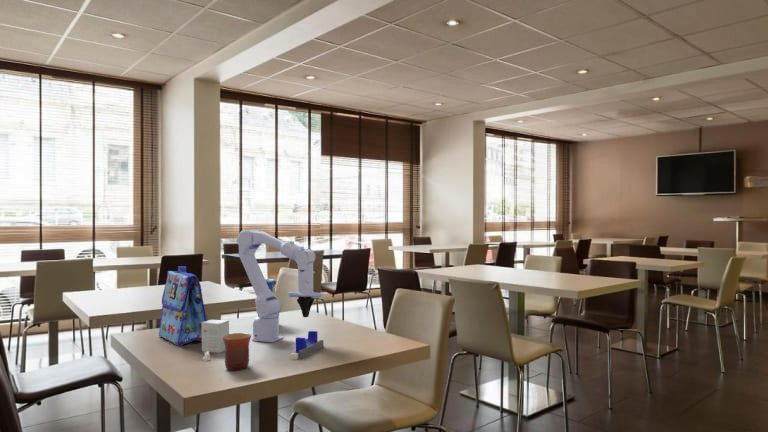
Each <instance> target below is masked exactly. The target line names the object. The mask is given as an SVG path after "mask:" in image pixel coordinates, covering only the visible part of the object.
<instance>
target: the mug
mask: <svg viewBox="0 0 768 432" xmlns="http://www.w3.org/2000/svg"><path fill="white" fill-rule="evenodd" d="M251 339H252V334H250V333H245V332H236V333H235V332H234V333H229V334H228V335H225V336H223V341H224V344H225V351H224V365H225V369H226V370H229V371H231V372H237V371H242V370H243V371H244V370H246V369H247V368H248V367H249V363H250V342H251V341H250V340H251Z"/></svg>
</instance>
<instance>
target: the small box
mask: <svg viewBox="0 0 768 432" xmlns="http://www.w3.org/2000/svg"><path fill="white" fill-rule="evenodd" d="M201 327H202V341H201V352H205V353H206V351H208V352H209V353H218V354H221V353H223V352H225V344H224V341H223V336H225V335H228V334H230V321H229V320H226V319H225V320H224V319H207V321H205V322H202V323H201Z"/></svg>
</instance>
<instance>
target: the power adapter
mask: <svg viewBox="0 0 768 432" xmlns="http://www.w3.org/2000/svg"><path fill="white" fill-rule="evenodd" d="M203 353H204V356H203V357H202V361H203V362H206V361H210V360H211V355H210V354H211V353H210V352H208V351H206V352H205V351H203Z"/></svg>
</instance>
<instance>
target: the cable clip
mask: <svg viewBox="0 0 768 432" xmlns="http://www.w3.org/2000/svg"><path fill="white" fill-rule="evenodd" d="M317 341H319V340H318V330H317V331H315V330H309V331H308V332H307V338H306V337H298V336H297V337H295V353H298V351H300V350H302V349H304V348H306V347H308V346H309V345H311V344H313V343H315V342H317Z"/></svg>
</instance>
